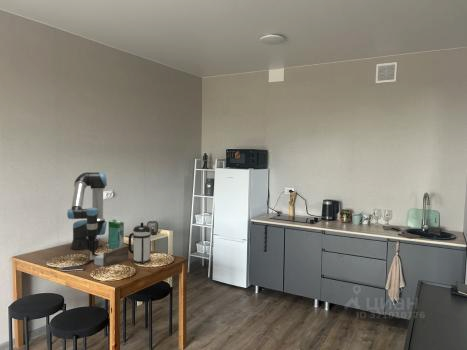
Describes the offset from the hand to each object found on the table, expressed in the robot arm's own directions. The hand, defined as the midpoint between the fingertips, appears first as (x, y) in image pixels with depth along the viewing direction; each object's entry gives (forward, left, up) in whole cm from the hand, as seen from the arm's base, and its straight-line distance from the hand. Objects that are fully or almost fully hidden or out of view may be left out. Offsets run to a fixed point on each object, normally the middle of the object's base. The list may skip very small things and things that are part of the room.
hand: (92, 259), depth 265 cm
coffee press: (+32, +16, -1) cm, 36 cm away
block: (+12, -1, -1) cm, 13 cm away
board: (+18, +6, -1) cm, 19 cm away
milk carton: (-6, +32, -1) cm, 32 cm away
